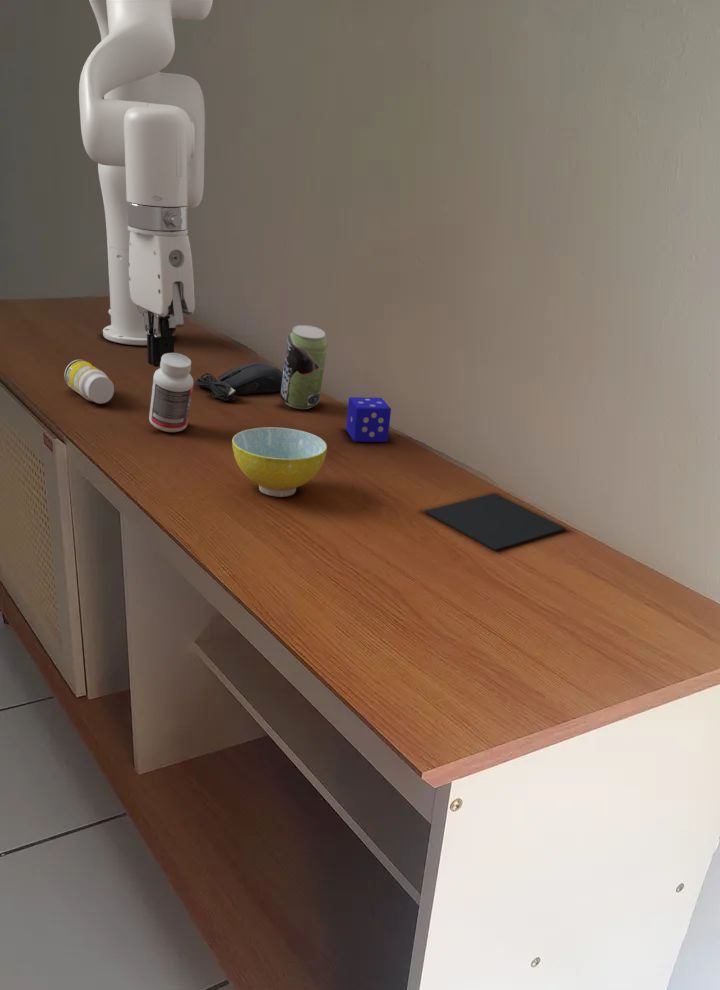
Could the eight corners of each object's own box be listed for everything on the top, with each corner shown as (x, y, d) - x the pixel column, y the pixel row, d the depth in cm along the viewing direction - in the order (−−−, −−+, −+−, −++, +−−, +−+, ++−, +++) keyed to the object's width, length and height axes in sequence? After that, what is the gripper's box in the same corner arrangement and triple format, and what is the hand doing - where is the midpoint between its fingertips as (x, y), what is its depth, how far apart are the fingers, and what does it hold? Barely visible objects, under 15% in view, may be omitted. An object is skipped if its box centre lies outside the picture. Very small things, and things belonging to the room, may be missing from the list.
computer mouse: (302, 394, 151) (304, 370, 149) (222, 404, 143) (223, 379, 141) (269, 377, 158) (270, 354, 156) (191, 385, 150) (191, 361, 148)
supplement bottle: (99, 379, 144) (122, 395, 138) (73, 396, 143) (96, 413, 137) (84, 352, 140) (107, 367, 135) (57, 369, 139) (79, 385, 134)
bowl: (304, 469, 122) (307, 423, 119) (337, 504, 113) (341, 455, 110) (220, 476, 118) (220, 428, 115) (247, 512, 109) (248, 461, 106)
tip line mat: (425, 512, 114) (425, 510, 113) (494, 495, 120) (494, 493, 120) (495, 551, 106) (496, 549, 106) (565, 530, 113) (565, 528, 112)
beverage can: (301, 397, 149) (305, 319, 143) (332, 410, 145) (338, 330, 139) (270, 403, 145) (273, 323, 139) (302, 416, 141) (306, 335, 135)
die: (346, 430, 137) (348, 396, 135) (378, 430, 139) (382, 397, 136) (354, 442, 133) (357, 407, 131) (387, 442, 134) (391, 408, 132)
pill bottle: (193, 432, 131) (203, 369, 125) (157, 435, 129) (165, 370, 122) (178, 411, 134) (186, 348, 128) (142, 413, 132) (149, 350, 125)
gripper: (213, 228, 116) (213, 376, 126) (156, 210, 126) (159, 349, 135) (159, 229, 112) (162, 382, 121) (104, 210, 122) (111, 353, 131)
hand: (161, 364), depth 128 cm, fingers closed
